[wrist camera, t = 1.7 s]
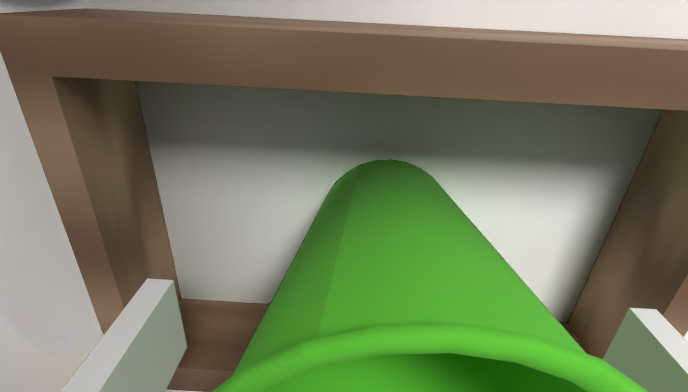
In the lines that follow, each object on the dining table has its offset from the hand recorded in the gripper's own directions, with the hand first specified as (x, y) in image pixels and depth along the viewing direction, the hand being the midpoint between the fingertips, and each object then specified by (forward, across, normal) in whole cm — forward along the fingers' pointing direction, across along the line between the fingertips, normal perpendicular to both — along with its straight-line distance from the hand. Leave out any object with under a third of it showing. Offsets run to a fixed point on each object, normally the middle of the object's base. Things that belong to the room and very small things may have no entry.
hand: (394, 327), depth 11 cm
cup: (+7, 0, 0) cm, 7 cm away
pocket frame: (+6, 0, 0) cm, 6 cm away
